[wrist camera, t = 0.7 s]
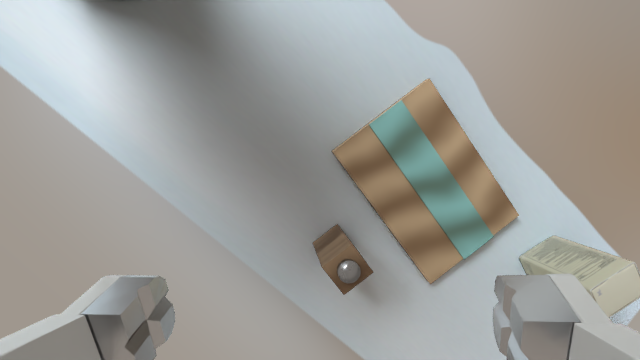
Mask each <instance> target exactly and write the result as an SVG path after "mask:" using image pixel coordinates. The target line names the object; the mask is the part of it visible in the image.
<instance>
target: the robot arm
mask: <svg viewBox="0 0 640 360" xmlns="http://www.w3.org/2000/svg"><path fill="white" fill-rule="evenodd" d="M494 291H495V294H496V296H497V298H498V301H499V302H498V303H497V304H496V305H495V306H494V308H493V326H494V334H495V338H496V342H497V345H498V348H499V351H500V352H501V353H503V354H504V355H505V356H507V360H640V333H639V332H637V331H635V330H633V329H631V328H629V327H628V326H626V325H624V324H617V323H613V322H612V321H611V320H610V318H609V317H608V316H607V315H606V314H605V312H604V311H603V310H602V309H601V307H600V306H599V305H598V304H597V303H596V301H595V300H594V299H593V298H592V296H591V295H590V294H589V293H588V292H587V290H586V289H585V288H584V287H583V285H582V284H581V283H580V282H579V281H578V279H577V278H576V277H575V276H574V275H572V274H570V273H568V274H545V275H503V276H497V277H496V280H495V290H494ZM167 292H168V287H167V284H166V281H165V279H164V278H162V277H161V276H140V275H137V276H136V275H126V276H125V275H109V276H104V277H102V278H101V279H100V280H99V281H98V282H97V283H95V284H94V285H93V286H92V287H91V288H90V289H88V290H87V291H86V292H85V293H84V294H83V295H82V296H80V298H78V299H77V300H76V301H75V302H74V303H72V304H71V305H70V306H69V307H68V308H67V309H66V310H65V311H63V312H62V313H61V314H60V315H52V316H50V317H48V318H46V319H44V320H41V321H39V322H37V323H35V324H33V325H30V326H28V327H26V328H24V329H22V330H19V331H17V332H15V333H13V334H11V335H8V336H6V337H4V338H2V339H0V360H154V358H155V357H156V348H157V347H158V346H160V345H162V344H163V343H165V342H166V341H167V339H168V338H169V336H170V335H171V333H172V330H173V326H174V322H175V312H174V308H173V304H172V303H170V301H168V299H167V298H166V297H165V296H166V294H167Z"/></svg>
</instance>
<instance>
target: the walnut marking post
mask: <svg viewBox="0 0 640 360" xmlns="http://www.w3.org/2000/svg"><path fill="white" fill-rule="evenodd" d="M313 245H314V248H315V250H316V253H317V256H318V258H319V261H320V263H321V266H322V268H323V269H324V271H325V272H326V273H327V274H328V276H329V277H330V278H331V279H332V281H333V282H334V283H335V284H336V286H337V287H338V288H339V289H340V291H341V292H342V293H343V294H344V295H345V294H346V293H347V292H349V291H350V290H351V289H353V288H354V287H355V286H356V285H358V284H359V283H360V282H362V281H363V280H364V279H365V278H367V277H368V276H369V275H371V274H372V273H373V271H372V270H371V268H370V267H369V266H368V264H367V263H366V261H365V260H364V259H363V257H362V256H361V255H360V253H359V252H358V250H357V249H356V248H355V246H354V245H353V244H352V242H351V241H350V240H349V239H348V237H347V236H346V235H345V233H344V232H343V231H342V229H341V228H340V227H339V225H338V224H337V225H335V226H334V227H333V228H331V229H330V230H329V231H327V232H326V233H325V234H324V235H322V236H321V237H320V238H318V239H317V240H316V241H314V242H313Z"/></svg>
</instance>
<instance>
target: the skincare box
mask: <svg viewBox="0 0 640 360" xmlns="http://www.w3.org/2000/svg"><path fill="white" fill-rule="evenodd" d="M519 259H520V261H521V263H522V266H523V268H524V270H525V272H526V274H527V275H545V274H568V273H570V274H572V275H574V276H575V277H576V278H577V279H578V281H579V282H580V283H581V284H582V285H583V287H584V288H585V289H586V290H587V292H588V293H589V294H590V295H591V296H592V298H593V299H594V300H595V301H596V303H597V304H598V305H599V306H600V307H601V309H602V310H603V311H604V312H605V314H606V315H607V316H608V317H609V318H610V317H611V316H613V315H614V314H616V313H618V312H619V311H621V310H622V309H624V308H625V307H627V306H628V305H630V304H631V303H633V302H634V301H636V300H637V299H639V298H640V273H639V270H638V268H637V265H636V263H635V262H632V261H630V260H626V259H624V258H620V257H617V256H614V255H611V254H608V253H605V252H602V251H599V250H596V249H593V248H590V247H587V246H584V245H581V244H578V243H575V242H572V241H569V240H566V239H563V238H560V237H557V236H551V237H550V238H548V239H546V240H545V241H543V242H541V243H540V244H538V245H537V246H535V247H533V248H532V249H530V250H529V251H527V252H526V253H524V254H523V255H521V256H520V257H519Z"/></svg>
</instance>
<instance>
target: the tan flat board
mask: <svg viewBox="0 0 640 360" xmlns="http://www.w3.org/2000/svg"><path fill="white" fill-rule="evenodd" d="M332 152H333V154H334V155H335V156H336V158H337V159H338V160H339V162H340V163H341V164H342V166H343V167H344V169H345V170H346V171H347V173H348V174H349V175H350V177H351V178H352V179H353V181H354V182H355V183H356V185H357V186H358V188H359V189H360V190H361V192H362V193H363V194H364V196H365V197H366V198H367V200H368V201H369V202H370V204H371V205H372V207H373V208H374V209H375V211H376V212H377V213H378V215H379V216H380V217H381V219H382V220H383V221H384V223H385V224H386V226H387V227H388V228H389V230H390V231H391V232H392V234H393V235H394V236H395V238H396V239H397V241H398V242H399V243H400V245H401V246H402V247H403V249H404V250H405V251H406V253H407V254H408V255H409V257H410V258H411V260H412V261H413V262H414V264H415V265H416V266H417V268H418V269H419V270H420V272H421V273H422V274H423V276H424V277H425V279H426V280H427V281H428V282H429V283H430V284H431V283H433V282H434V281H435V280H437V279H438V278H439V277H440V276H442V275H443V274H444V273H446V272H447V271H448V270H449V269H451V268H452V267H453V266H455V265H456V264H457V263H458V262H460V261H461V260H462V259H466V258H467V257H468V256H470V255H471V254H472V253H473V252H475V251H476V250H477V249H479V248H480V247H481V246H482V245H484V244H485V243H486V242H488V241H489V240H490V239H491V238H493V237H494V236H493V235H494V234H496V233H497V232H498V231H500V230H501V229H502V228H503V227H505V226H506V225H507V224H509V223H510V222H511V221H512V220H514V219H515V218H516V217H518V216H519V214H518V213H517V211H516V210H515V208H514V207H513V205H512V204H511V202H510V201H509V199H508V198H507V196H506V195H505V193H504V192H503V190H502V188H501V187H500V185H499V184H498V182H497V181H496V179H495V178H494V176H493V175H492V173H491V172H490V170H489V169H488V167H487V166H486V164H485V163H484V161H483V160H482V158H481V156H480V155H479V153H478V152H477V150H476V149H475V147H474V146H473V144H472V143H471V141H470V140H469V138H468V137H467V135H466V134H465V132H464V131H463V129H462V128H461V126H460V124H459V123H458V121H457V120H456V118H455V117H454V115H453V114H452V112H451V111H450V109H449V108H448V106H447V105H446V103H445V102H444V100H443V99H442V97H441V96H440V94H439V92H438V91H437V89H436V88H435V86H434V85H433V83H432V82H431V80H430V79H426V80H425V81H423V82H422V83H421V84H419V85H418V86H417V87H415V88H414V89H413V90H411V91H410V92H409V93H407V94H406V95H405V96H404V97H402V98H401V99H400V100H398V101H397V102H396V103H394V104H393V105H392V106H390V107H389V108H388V109H386V110H385V111H384V112H382V113H381V114H380V115H379V116H377V117H376V118H375V119H373V120H372V121H371V122H369V123H368V124H367V125H365V126H364V127H363V128H361V129H360V130H359V131H357V132H356V133H355V134H354V135H352V136H351V137H350V138H348V139H347V140H346V141H344V142H343V143H342V144H340V145H339V146H338V147H336V148H335V149H334V150H333V151H332Z"/></svg>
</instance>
